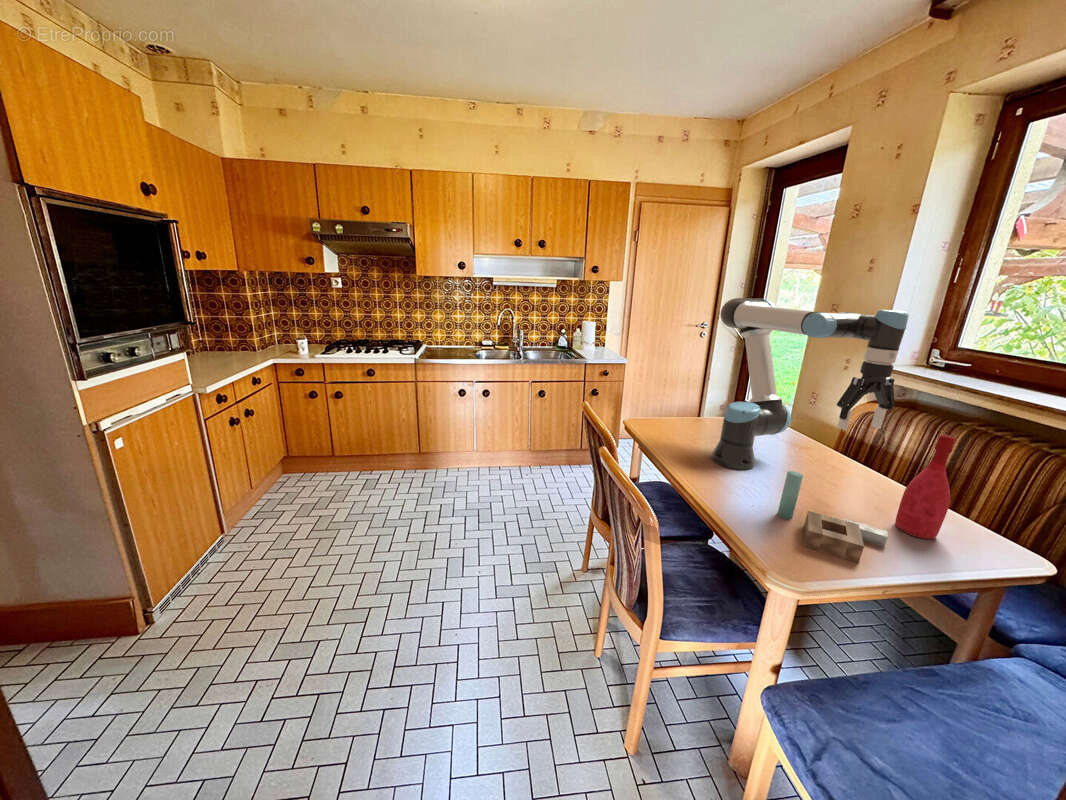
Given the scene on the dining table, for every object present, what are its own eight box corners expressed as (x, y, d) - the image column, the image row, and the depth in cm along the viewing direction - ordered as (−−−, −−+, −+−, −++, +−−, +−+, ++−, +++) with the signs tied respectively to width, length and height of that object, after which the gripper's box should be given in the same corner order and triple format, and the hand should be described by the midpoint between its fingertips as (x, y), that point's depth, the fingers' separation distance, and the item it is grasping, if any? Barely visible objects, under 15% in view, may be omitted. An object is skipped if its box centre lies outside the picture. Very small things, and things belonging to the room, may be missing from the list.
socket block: (804, 546, 115) (808, 530, 113) (804, 525, 125) (808, 510, 123) (858, 563, 109) (864, 546, 107) (854, 540, 119) (858, 524, 117)
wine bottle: (884, 521, 129) (914, 428, 121) (914, 521, 130) (946, 429, 121) (915, 541, 120) (950, 442, 111) (946, 540, 121) (983, 442, 112)
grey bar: (839, 534, 122) (843, 523, 121) (840, 528, 124) (843, 518, 123) (883, 548, 116) (887, 537, 115) (883, 542, 119) (887, 531, 118)
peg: (777, 516, 129) (787, 474, 125) (777, 510, 132) (787, 469, 128) (792, 521, 127) (803, 478, 123) (792, 515, 130) (803, 473, 126)
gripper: (857, 365, 122) (838, 434, 128) (922, 365, 128) (901, 430, 134) (834, 359, 129) (817, 425, 135) (897, 359, 135) (877, 422, 141)
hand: (858, 428), depth 135 cm, fingers open, 13 cm apart
